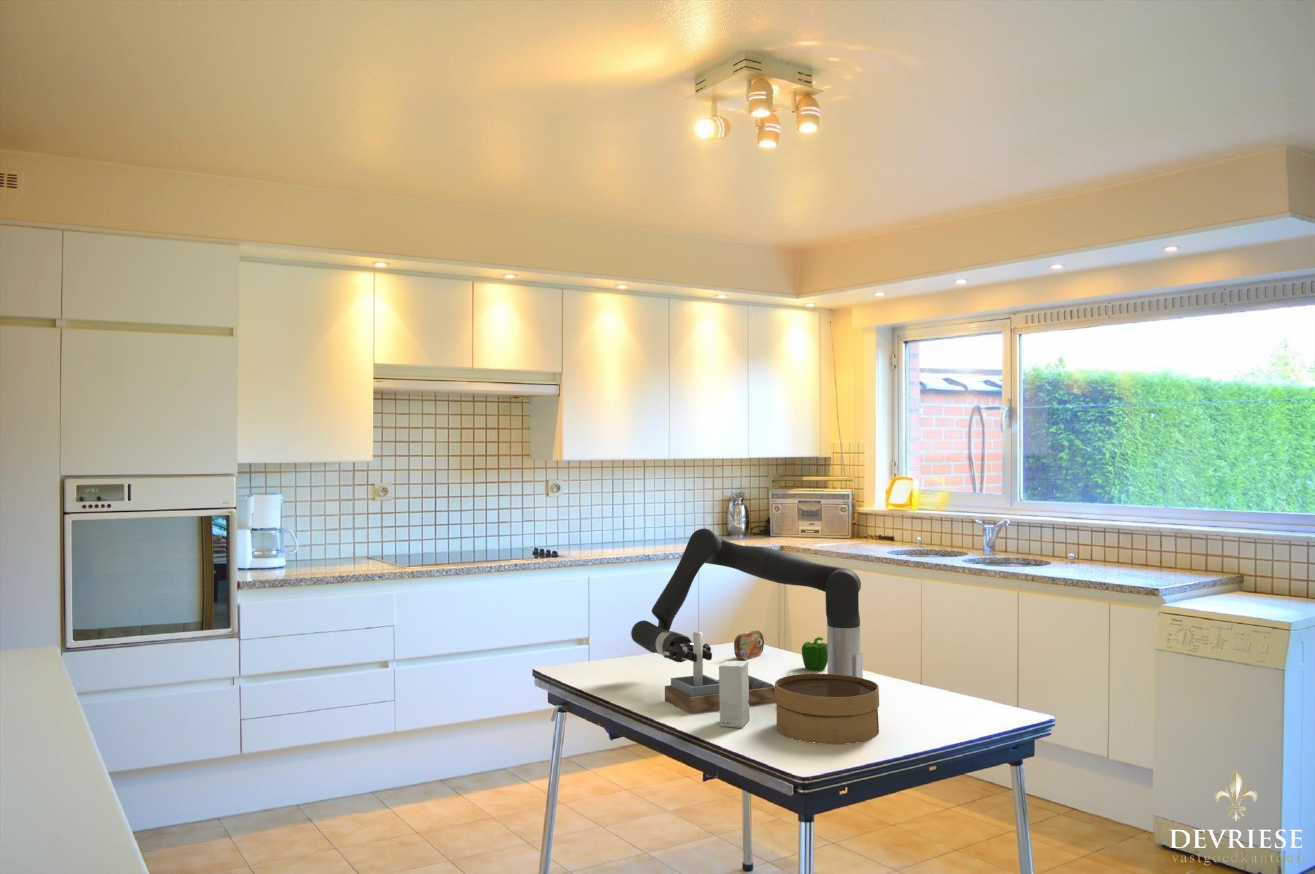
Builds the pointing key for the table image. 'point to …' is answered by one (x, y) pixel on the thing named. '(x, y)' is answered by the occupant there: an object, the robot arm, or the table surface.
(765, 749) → the table surface
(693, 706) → the bay
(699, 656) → the tray with upright post
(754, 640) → the tin
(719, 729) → the table surface
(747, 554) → the robot arm
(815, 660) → the bell pepper
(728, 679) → the skincare box
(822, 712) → the steamer basket
